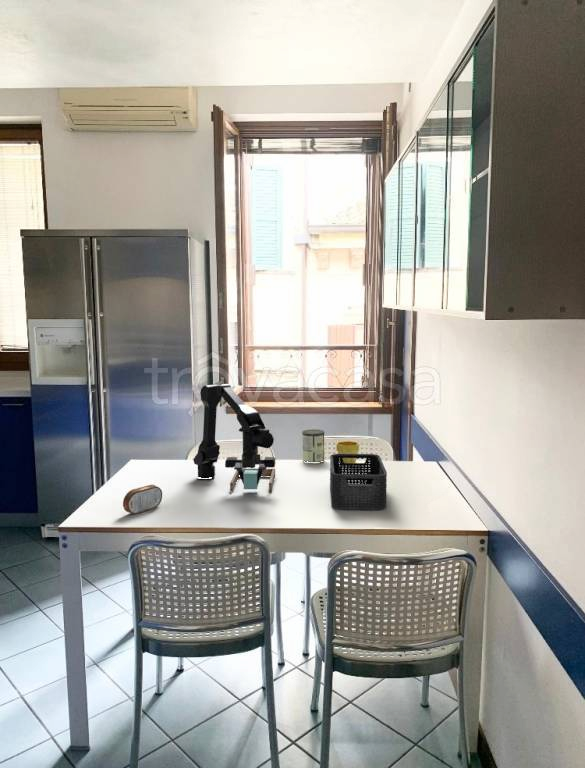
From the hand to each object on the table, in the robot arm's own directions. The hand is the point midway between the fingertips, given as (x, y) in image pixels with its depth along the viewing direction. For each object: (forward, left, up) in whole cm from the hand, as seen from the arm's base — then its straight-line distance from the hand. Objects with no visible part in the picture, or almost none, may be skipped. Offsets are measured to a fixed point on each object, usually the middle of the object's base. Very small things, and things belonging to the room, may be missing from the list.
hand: (250, 484), depth 217 cm
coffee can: (+24, +48, -4) cm, 54 cm away
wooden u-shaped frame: (0, +12, -3) cm, 12 cm away
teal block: (0, 0, -1) cm, 1 cm away
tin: (-35, -21, -4) cm, 41 cm away
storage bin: (+40, -5, -4) cm, 40 cm away
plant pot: (+39, +43, -4) cm, 58 cm away
